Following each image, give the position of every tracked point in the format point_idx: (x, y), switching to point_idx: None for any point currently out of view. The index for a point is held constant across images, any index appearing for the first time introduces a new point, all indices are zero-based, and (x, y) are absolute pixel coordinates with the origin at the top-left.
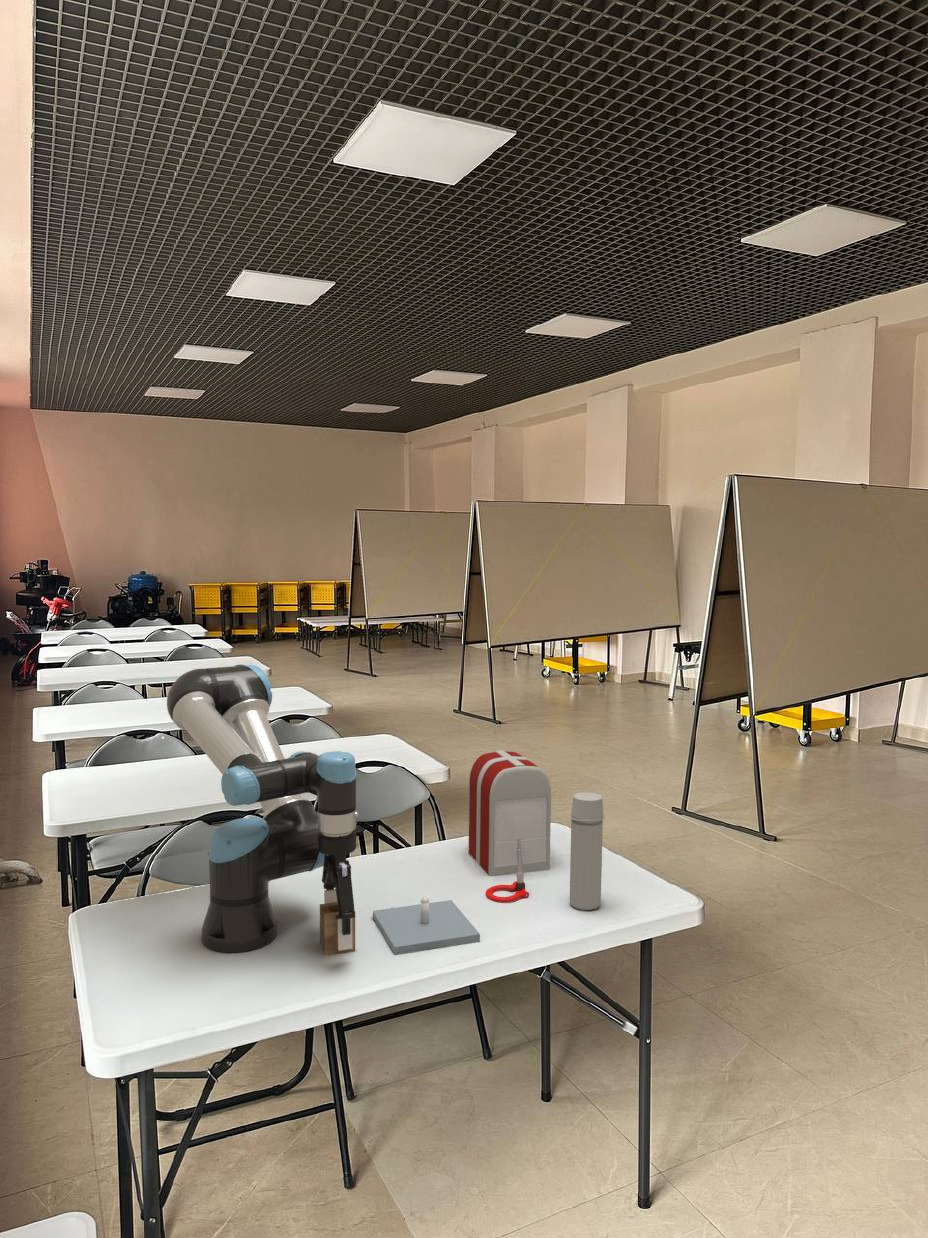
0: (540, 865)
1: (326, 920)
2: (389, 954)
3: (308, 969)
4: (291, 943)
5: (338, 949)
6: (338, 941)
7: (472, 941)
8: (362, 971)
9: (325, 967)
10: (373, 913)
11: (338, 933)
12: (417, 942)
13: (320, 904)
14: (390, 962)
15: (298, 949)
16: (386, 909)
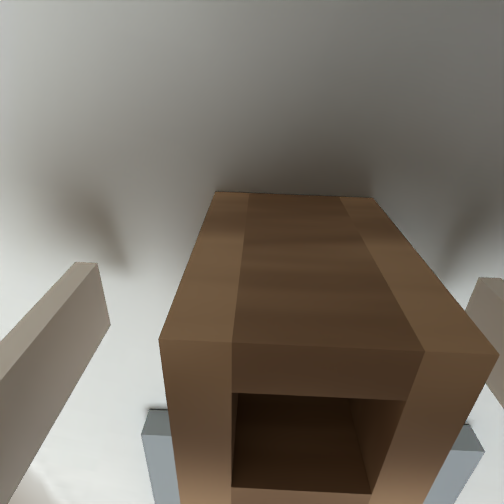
0: None
1: (171, 317)
2: (157, 398)
3: (79, 65)
4: (457, 26)
5: (81, 265)
6: (53, 293)
7: None
8: (35, 296)
9: (90, 163)
10: (468, 445)
11: (16, 331)
12: (159, 486)
13: (486, 361)
14: (96, 387)
15: (351, 58)
16: (461, 483)
